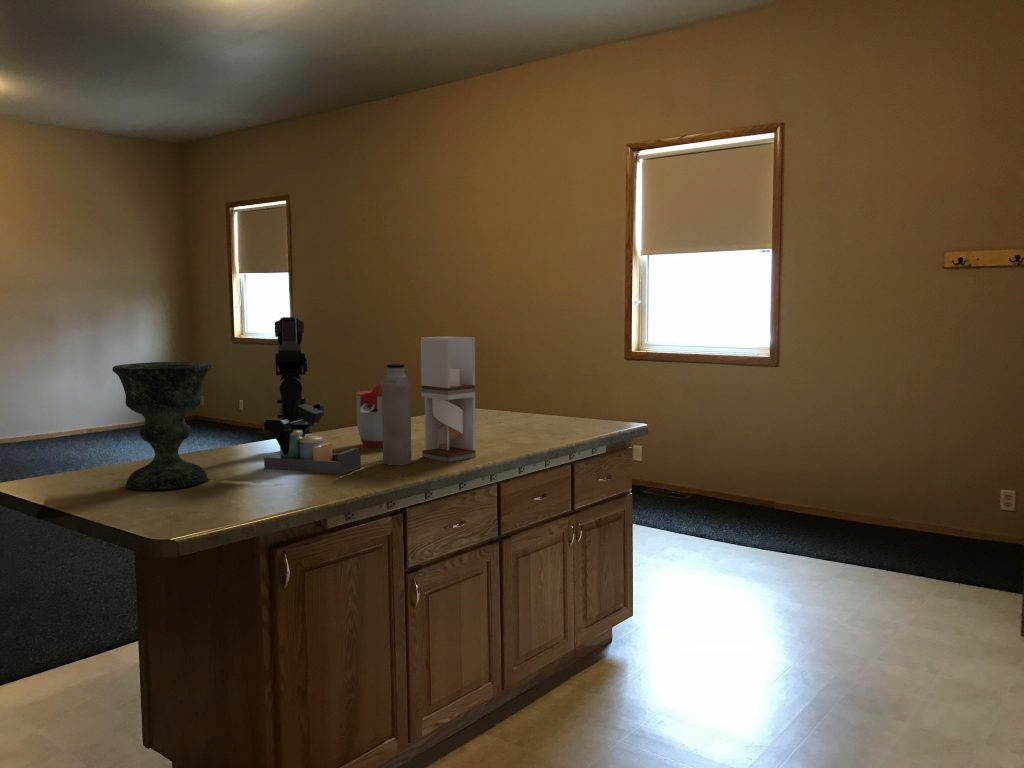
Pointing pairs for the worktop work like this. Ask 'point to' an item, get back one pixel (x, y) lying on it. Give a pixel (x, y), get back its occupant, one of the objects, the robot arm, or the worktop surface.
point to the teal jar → (293, 445)
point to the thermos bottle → (396, 416)
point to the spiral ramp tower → (449, 397)
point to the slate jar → (309, 446)
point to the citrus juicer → (370, 416)
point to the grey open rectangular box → (318, 463)
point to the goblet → (164, 419)
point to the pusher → (323, 452)
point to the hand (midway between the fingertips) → (292, 452)
